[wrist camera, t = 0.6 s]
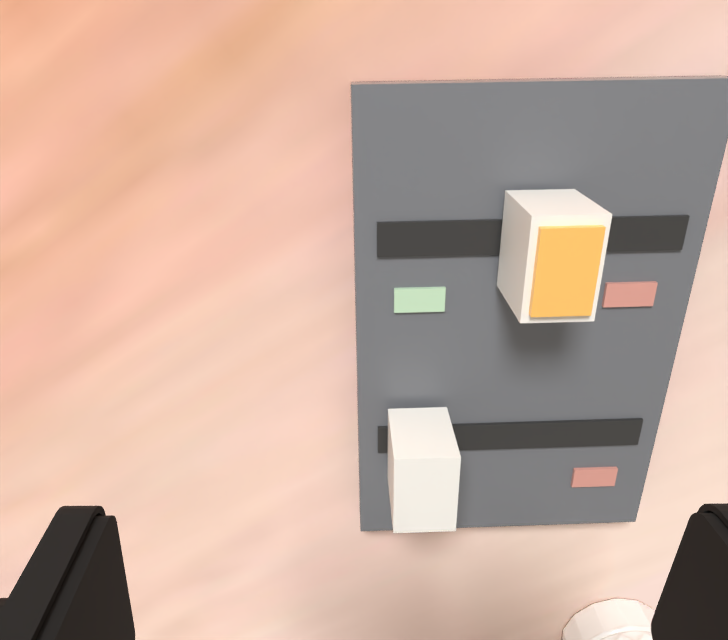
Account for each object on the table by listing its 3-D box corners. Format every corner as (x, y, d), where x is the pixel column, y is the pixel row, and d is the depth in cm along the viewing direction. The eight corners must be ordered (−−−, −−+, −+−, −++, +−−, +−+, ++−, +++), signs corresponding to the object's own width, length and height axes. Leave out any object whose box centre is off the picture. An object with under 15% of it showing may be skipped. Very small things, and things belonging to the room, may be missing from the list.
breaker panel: (721, 75, 26) (745, 78, 24) (624, 503, 36) (636, 524, 35) (350, 81, 25) (351, 85, 24) (359, 512, 36) (360, 533, 34)
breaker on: (446, 406, 30) (460, 457, 27) (443, 475, 32) (455, 531, 29) (387, 408, 30) (394, 459, 27) (387, 477, 32) (393, 533, 29)
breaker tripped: (574, 188, 26) (615, 216, 22) (561, 283, 28) (596, 324, 24) (505, 190, 26) (534, 218, 22) (496, 285, 28) (522, 326, 24)
